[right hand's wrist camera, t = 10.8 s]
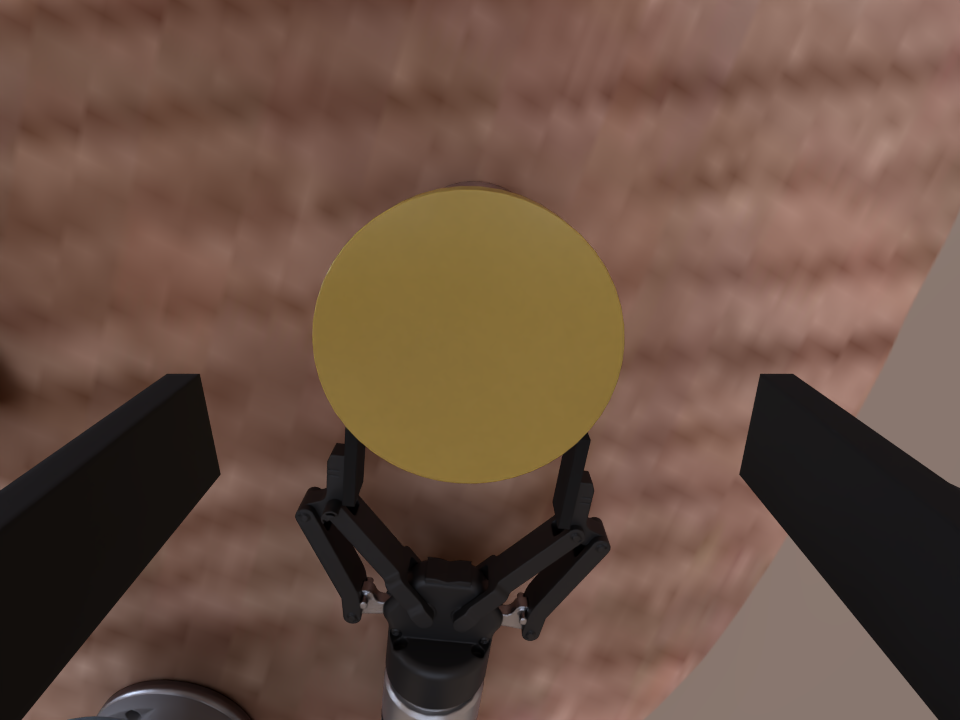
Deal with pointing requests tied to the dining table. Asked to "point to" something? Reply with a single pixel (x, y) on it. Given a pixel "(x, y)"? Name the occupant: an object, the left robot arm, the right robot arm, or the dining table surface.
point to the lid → (468, 335)
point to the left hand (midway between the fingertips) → (470, 415)
